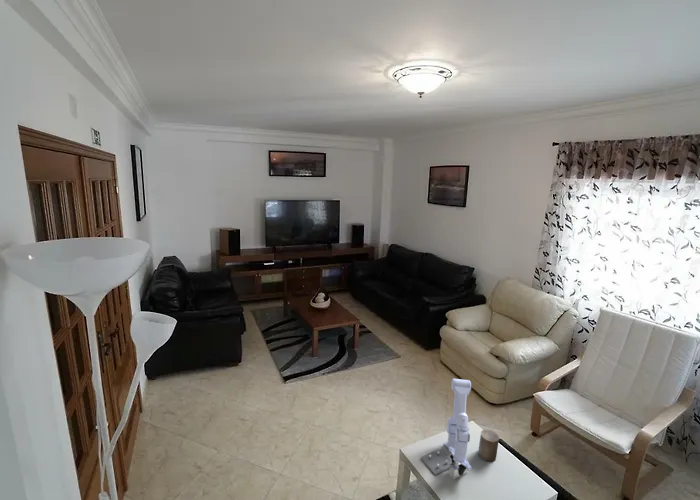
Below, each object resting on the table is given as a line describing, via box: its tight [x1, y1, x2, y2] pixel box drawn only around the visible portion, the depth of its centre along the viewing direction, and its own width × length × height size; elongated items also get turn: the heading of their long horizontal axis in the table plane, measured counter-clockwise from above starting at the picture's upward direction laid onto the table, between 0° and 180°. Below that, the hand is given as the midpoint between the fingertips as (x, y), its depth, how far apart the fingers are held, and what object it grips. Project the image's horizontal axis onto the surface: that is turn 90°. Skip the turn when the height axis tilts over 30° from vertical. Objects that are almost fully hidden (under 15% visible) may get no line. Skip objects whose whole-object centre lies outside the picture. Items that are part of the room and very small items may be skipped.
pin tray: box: [420, 448, 452, 476], centre depth 193 cm, size 14×12×3 cm
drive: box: [447, 461, 469, 480], centre depth 187 cm, size 10×4×6 cm, turn 117°
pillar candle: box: [477, 428, 500, 463], centre depth 198 cm, size 10×10×15 cm
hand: (457, 471), depth 187 cm, fingers closed on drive, 4 cm apart
